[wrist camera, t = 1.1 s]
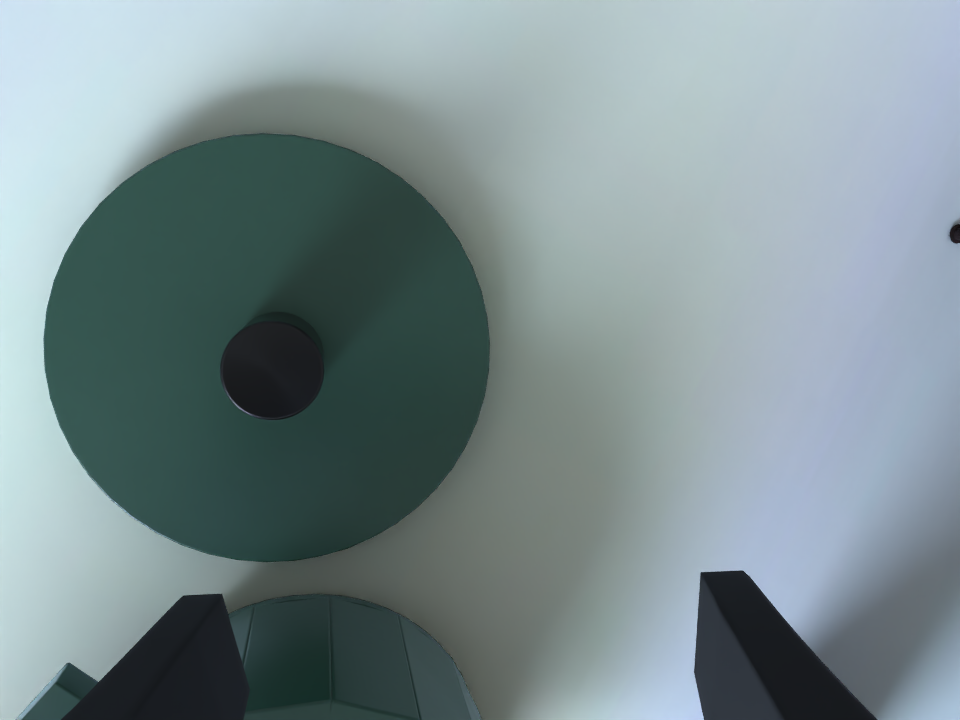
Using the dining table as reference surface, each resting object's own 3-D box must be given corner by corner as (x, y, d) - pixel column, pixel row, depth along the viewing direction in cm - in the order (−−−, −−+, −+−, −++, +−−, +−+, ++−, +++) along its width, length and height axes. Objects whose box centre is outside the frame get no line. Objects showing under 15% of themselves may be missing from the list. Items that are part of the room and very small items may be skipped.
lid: (300, 625, 25) (295, 699, 21) (-43, 369, 22) (-128, 395, 18) (561, 335, 26) (607, 351, 22) (259, 45, 23) (245, -2, 18)
